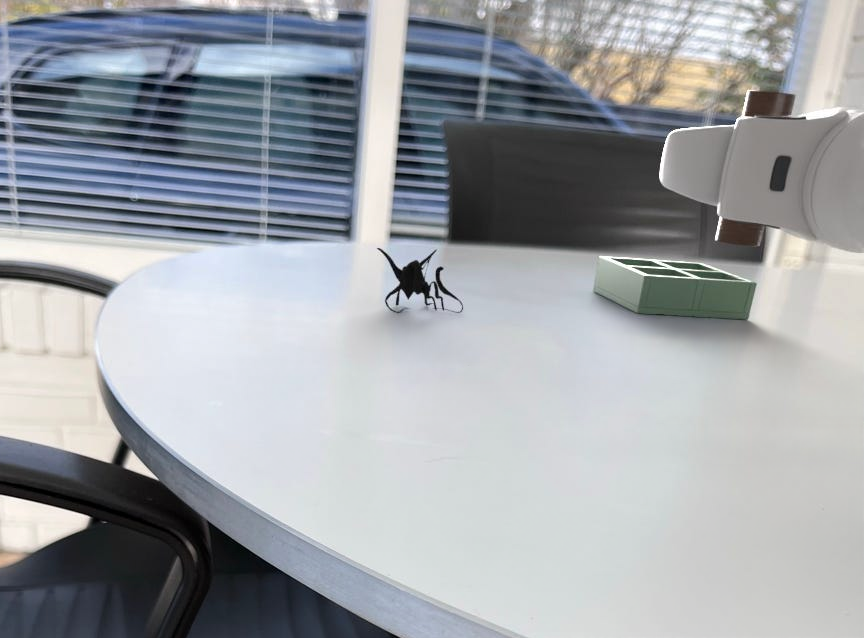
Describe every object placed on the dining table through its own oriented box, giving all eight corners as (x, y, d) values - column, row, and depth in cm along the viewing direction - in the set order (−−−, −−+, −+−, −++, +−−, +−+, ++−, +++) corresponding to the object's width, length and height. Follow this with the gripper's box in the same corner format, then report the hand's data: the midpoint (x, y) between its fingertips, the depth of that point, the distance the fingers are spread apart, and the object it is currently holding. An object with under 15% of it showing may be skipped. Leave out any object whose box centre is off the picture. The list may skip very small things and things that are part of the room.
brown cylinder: (746, 241, 88) (780, 94, 83) (768, 247, 85) (805, 95, 80) (707, 238, 88) (739, 89, 83) (727, 244, 85) (762, 90, 80)
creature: (473, 328, 95) (435, 292, 101) (488, 270, 92) (447, 235, 97) (396, 329, 92) (360, 291, 97) (408, 269, 89) (370, 233, 94)
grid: (695, 297, 117) (702, 263, 115) (748, 319, 107) (757, 282, 105) (592, 290, 114) (598, 255, 113) (637, 313, 104) (644, 275, 102)
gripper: (994, 140, 73) (876, 129, 85) (725, 114, 69) (640, 107, 81) (963, 236, 76) (853, 212, 88) (703, 217, 72) (625, 195, 84)
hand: (749, 162), depth 85 cm, fingers closed on brown cylinder, 3 cm apart
